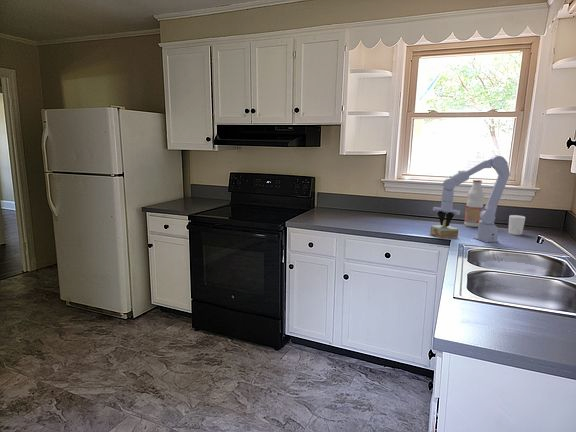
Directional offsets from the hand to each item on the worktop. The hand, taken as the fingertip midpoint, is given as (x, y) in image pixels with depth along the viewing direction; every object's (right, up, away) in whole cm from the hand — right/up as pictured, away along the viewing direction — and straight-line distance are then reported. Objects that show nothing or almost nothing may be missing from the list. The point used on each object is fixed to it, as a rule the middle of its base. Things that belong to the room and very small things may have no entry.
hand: (444, 225), depth 217 cm
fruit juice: (+29, -1, +30) cm, 41 cm away
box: (0, -6, +1) cm, 6 cm away
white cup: (+44, -5, +10) cm, 45 cm away
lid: (0, -2, 0) cm, 2 cm away
